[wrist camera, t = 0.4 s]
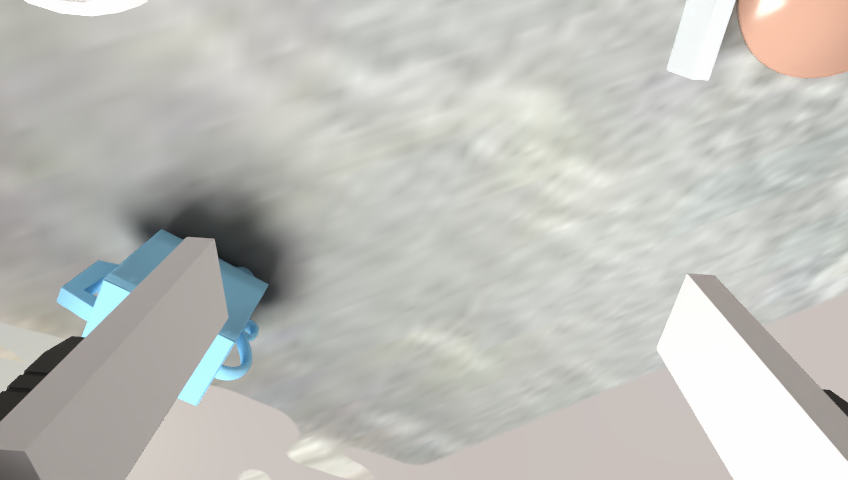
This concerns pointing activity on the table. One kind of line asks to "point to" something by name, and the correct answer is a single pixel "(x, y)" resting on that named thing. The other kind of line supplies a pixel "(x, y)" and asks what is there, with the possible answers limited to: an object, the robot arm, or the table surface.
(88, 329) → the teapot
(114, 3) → the cup
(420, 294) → the table surface
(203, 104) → the table surface
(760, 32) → the coaster
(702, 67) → the acrylic walls
